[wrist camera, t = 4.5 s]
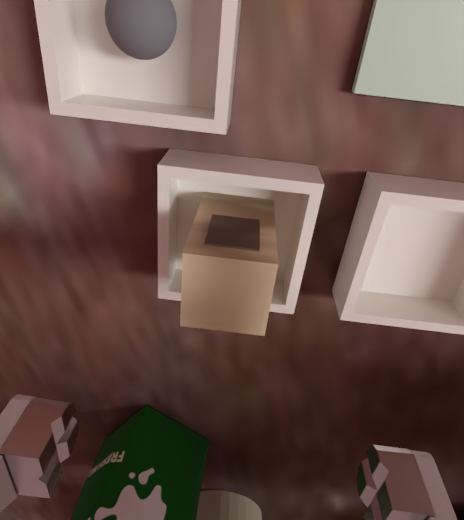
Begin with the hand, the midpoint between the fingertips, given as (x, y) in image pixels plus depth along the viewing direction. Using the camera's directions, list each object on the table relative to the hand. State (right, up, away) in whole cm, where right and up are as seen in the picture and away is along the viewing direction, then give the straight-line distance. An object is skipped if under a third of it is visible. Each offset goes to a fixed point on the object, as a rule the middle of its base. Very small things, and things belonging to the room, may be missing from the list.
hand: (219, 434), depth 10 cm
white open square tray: (+12, +6, +13) cm, 18 cm away
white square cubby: (+1, +7, +13) cm, 15 cm away
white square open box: (-3, +16, +8) cm, 18 cm away
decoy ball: (-4, +15, +6) cm, 17 cm away
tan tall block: (+1, +7, +12) cm, 14 cm away
